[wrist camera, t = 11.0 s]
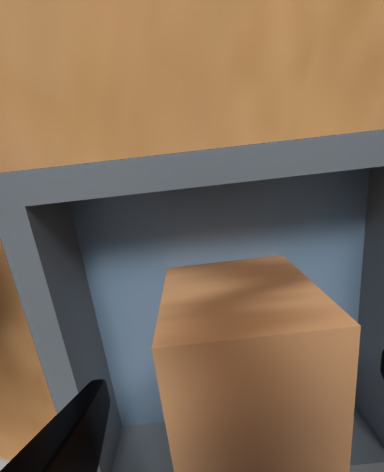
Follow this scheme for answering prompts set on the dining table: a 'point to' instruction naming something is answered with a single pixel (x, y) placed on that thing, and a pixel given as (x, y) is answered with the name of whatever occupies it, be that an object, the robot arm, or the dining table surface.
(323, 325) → the light brown block
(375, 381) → the low wall corral
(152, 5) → the dining table surface
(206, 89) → the dining table surface
